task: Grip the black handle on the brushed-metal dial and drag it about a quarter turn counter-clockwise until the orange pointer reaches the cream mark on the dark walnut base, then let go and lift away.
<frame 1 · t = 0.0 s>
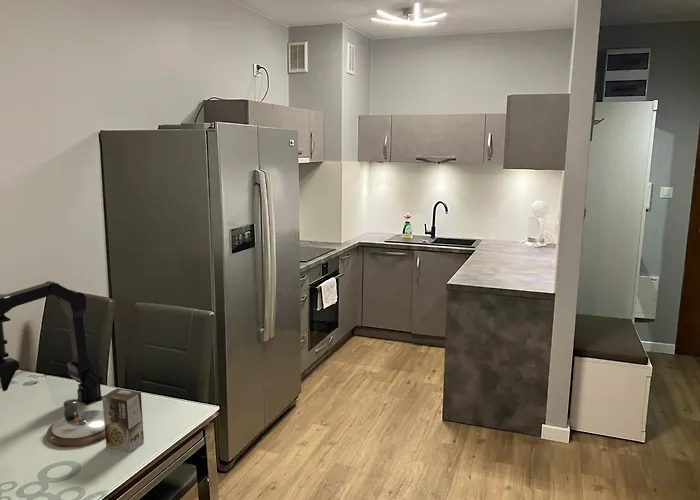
dial base: (83, 430, 175), on the table
dial: (82, 416, 174), point 5 cm above the table, hinge at 0.0°
coffee box: (125, 445, 167), on the table
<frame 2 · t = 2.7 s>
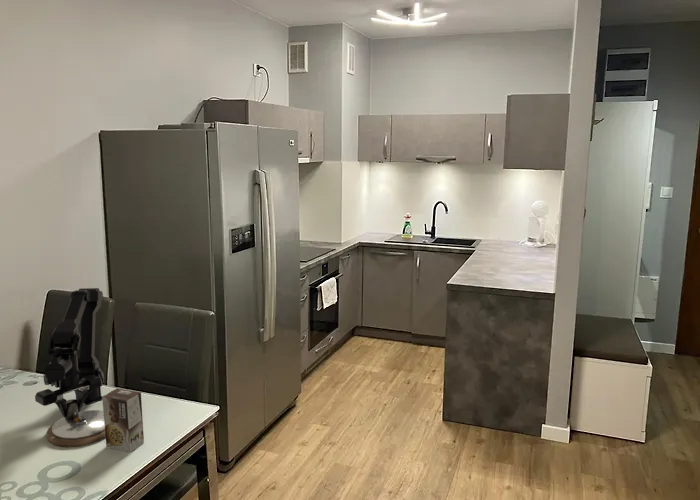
hand: (71, 414, 178), 3 cm above the table, tool pointing down, fingers closed on dial, 4 cm apart
dial: (82, 416, 174), point 5 cm above the table, hinge at 0.0°, touching gripper
everything else where it was.
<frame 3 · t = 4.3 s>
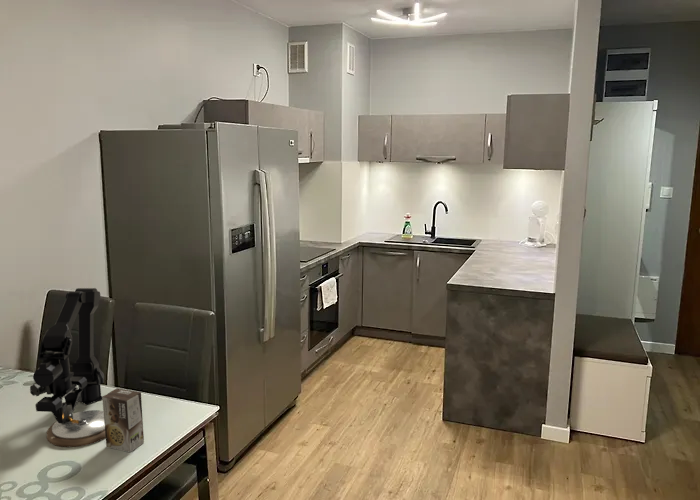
hand: (65, 418, 176), 3 cm above the table, tool pointing down, fingers open, 5 cm apart
dial: (82, 416, 174), point 5 cm above the table, hinge at 18.8°, touching gripper
everything else where it was.
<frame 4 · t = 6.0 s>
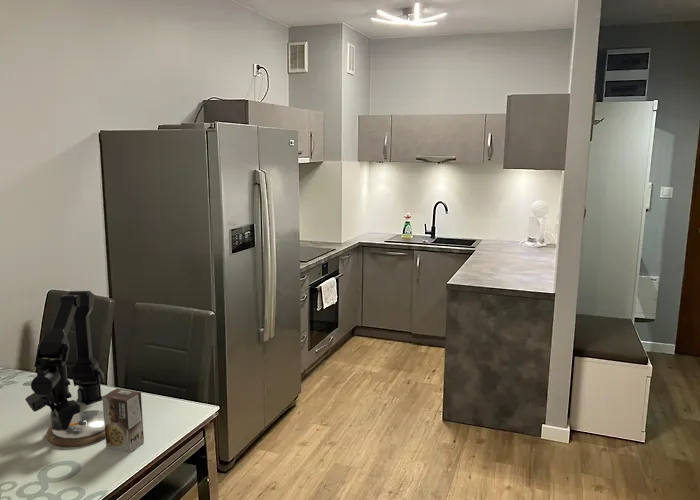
hand: (61, 425, 171), 3 cm above the table, tool pointing down, fingers open, 6 cm apart
dial: (82, 416, 174), point 5 cm above the table, hinge at 60.8°, touching gripper
everything else where it was.
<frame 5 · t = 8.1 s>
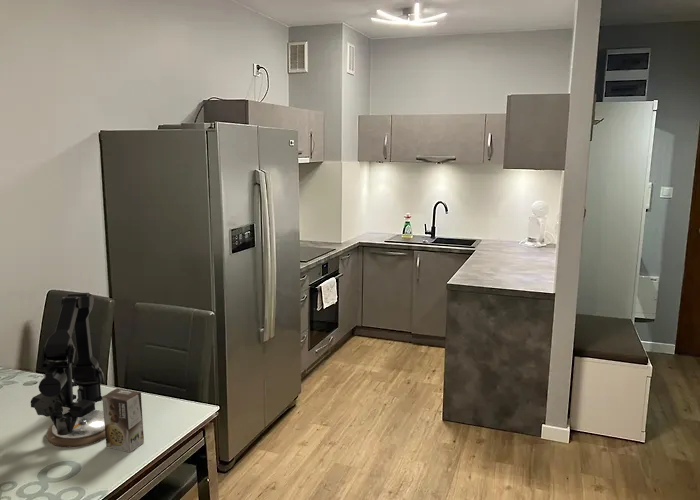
hand: (64, 430, 168), 3 cm above the table, tool pointing down, fingers closed on dial, 4 cm apart
dial: (82, 416, 174), point 5 cm above the table, hinge at 102.4°, touching gripper
everything else where it was.
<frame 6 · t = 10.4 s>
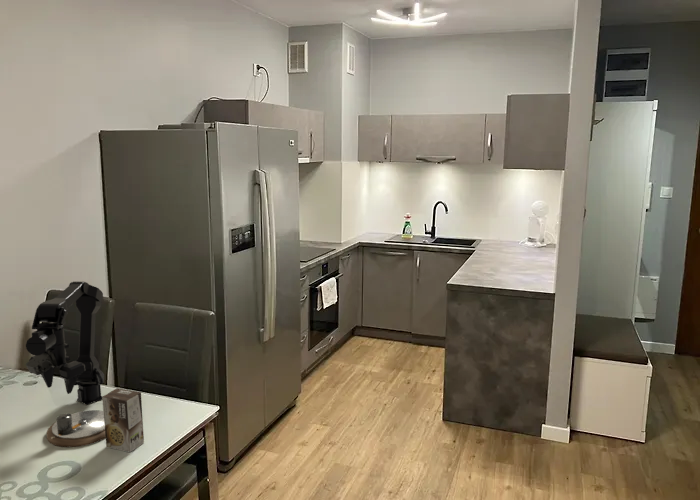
hand: (59, 390, 174), 12 cm above the table, tool pointing down, fingers open, 9 cm apart
dial: (82, 416, 174), point 5 cm above the table, hinge at 104.7°
everything else where it was.
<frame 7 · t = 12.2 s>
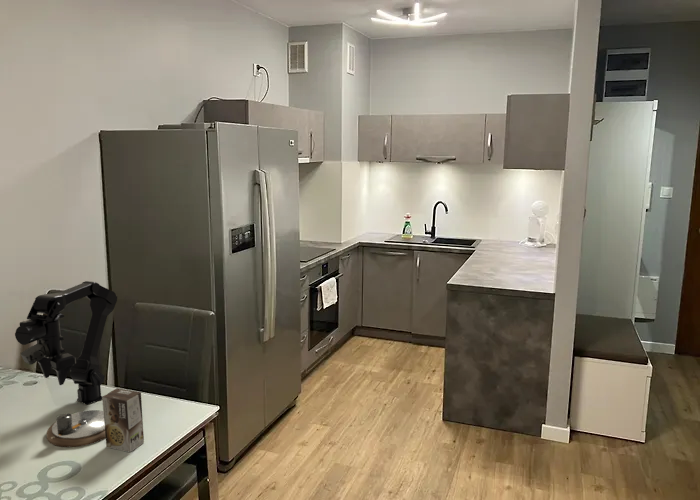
hand: (54, 381, 180), 13 cm above the table, tool pointing down, fingers open, 9 cm apart
nothing on the table moved.
at the end: dial at +105° (first picture: +0°); the gripper is holding nothing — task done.
